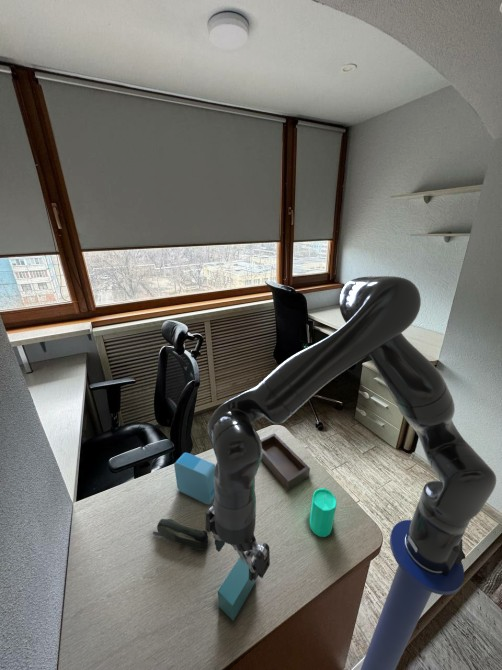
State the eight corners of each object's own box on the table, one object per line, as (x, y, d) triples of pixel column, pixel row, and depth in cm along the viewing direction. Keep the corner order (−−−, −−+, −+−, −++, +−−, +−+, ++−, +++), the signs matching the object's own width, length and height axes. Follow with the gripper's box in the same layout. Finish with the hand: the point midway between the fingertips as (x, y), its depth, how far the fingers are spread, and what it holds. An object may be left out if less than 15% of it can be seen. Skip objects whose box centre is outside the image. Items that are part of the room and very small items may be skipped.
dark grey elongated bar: (209, 528, 68) (155, 513, 71) (204, 541, 65) (148, 525, 68) (209, 540, 69) (157, 525, 72) (205, 553, 67) (151, 537, 70)
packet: (255, 582, 61) (255, 566, 59) (233, 621, 55) (232, 605, 53) (241, 570, 63) (241, 554, 61) (218, 606, 57) (217, 590, 55)
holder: (309, 476, 87) (310, 468, 85) (287, 490, 82) (288, 481, 81) (274, 440, 101) (274, 432, 100) (254, 451, 97) (254, 442, 95)
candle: (310, 511, 76) (314, 481, 72) (332, 518, 75) (338, 488, 70) (307, 532, 71) (311, 501, 67) (331, 540, 69) (336, 509, 65)
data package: (218, 493, 81) (216, 464, 77) (210, 506, 78) (208, 476, 73) (186, 478, 86) (183, 450, 81) (177, 490, 82) (173, 461, 78)
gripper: (279, 513, 47) (275, 567, 54) (219, 472, 55) (222, 523, 61) (255, 552, 42) (254, 607, 48) (192, 501, 49) (198, 554, 56)
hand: (236, 560), depth 55 cm, fingers open, 8 cm apart
